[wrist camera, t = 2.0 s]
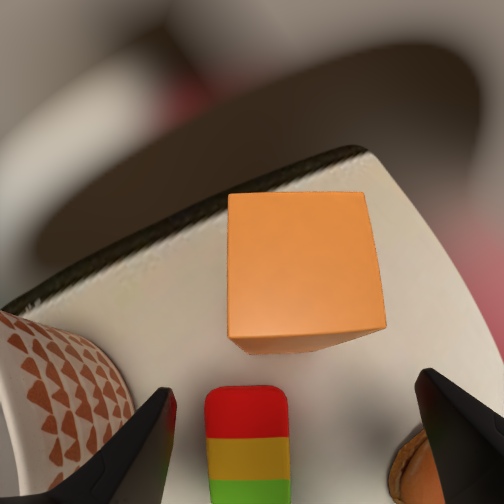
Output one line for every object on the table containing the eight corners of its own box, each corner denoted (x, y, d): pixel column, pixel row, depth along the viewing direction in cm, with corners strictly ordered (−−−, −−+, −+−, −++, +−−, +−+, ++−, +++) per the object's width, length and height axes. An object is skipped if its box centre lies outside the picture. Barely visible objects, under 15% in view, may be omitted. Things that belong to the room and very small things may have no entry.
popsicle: (285, 383, 19) (288, 384, 17) (289, 546, 13) (291, 558, 12) (206, 385, 19) (201, 387, 17) (219, 547, 13) (216, 558, 12)
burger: (364, 478, 16) (387, 500, 11) (444, 392, 18) (479, 393, 13) (421, 525, 13) (446, 544, 8) (489, 449, 15) (520, 455, 10)
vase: (21, 453, 15) (-76, 463, 4) (22, 322, 21) (-81, 280, 9) (143, 503, 15) (56, 578, 3) (143, 344, 20) (23, 308, 8)
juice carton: (313, 351, 20) (387, 327, 8) (248, 354, 20) (227, 338, 8) (309, 289, 21) (364, 191, 9) (247, 292, 22) (227, 193, 9)
